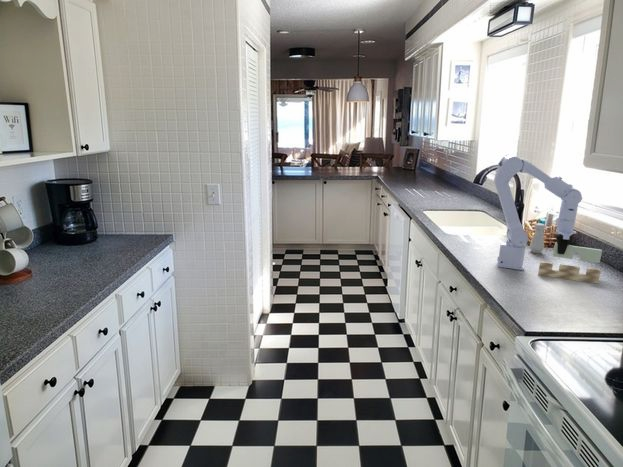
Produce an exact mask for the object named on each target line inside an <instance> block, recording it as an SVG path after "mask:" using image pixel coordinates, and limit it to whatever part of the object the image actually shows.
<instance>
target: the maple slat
mask: <svg viewBox="0 0 623 467" xmlns="http://www.w3.org/2000/svg"><path fill="white" fill-rule="evenodd" d="M553 266H554V264H553V262H547V261H539V267H538V271H537V272H538V273H537V275H538V276H543V277H544V276H545V277H550V278H558V279H565V280H571V281H577V282H585V283H591V284H599V281H600V277H601V271H602V270H601V269H599V268H598V269H597V268H589V267H586V271H585V273H580V270H581V267H580V266H576V265H569V264H563V263H562V264H559V266H558V269H553V268H554V267H553Z"/></svg>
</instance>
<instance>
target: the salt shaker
mask: <svg viewBox="0 0 623 467" xmlns="http://www.w3.org/2000/svg"><path fill="white" fill-rule="evenodd" d="M534 229H535V231H534V233H533V235H532V238H531V241H530V244H529V246H528V247H529V250H530V253H532V254H538V255H540V254H541V253H542V251H544V248H545V242H544V239H545V238H544V233H545V232H544V231H545V229H546V224H544V223H540V222H539V223H535V224H534Z"/></svg>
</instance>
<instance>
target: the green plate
mask: <svg viewBox="0 0 623 467" xmlns="http://www.w3.org/2000/svg"><path fill="white" fill-rule="evenodd" d="M553 246H554V247H553V251H552V252H553V253H552V257H555V258H563V259H568V260H569V259H570V260H572V259H573V258H574V254H579V257H578V260H579V261H583V262H589V263H590V262H591V263H597V264H600V262H601V260H602V258H601V257H602V254H603V249H598V248H593V247H592V248H591V247H584V246H577V245H571V244H569V245H568V246H567V249H566V251H565V253H564V255H563V254H558V244H557V242H555V243H554V245H553Z"/></svg>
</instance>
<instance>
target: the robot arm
mask: <svg viewBox="0 0 623 467" xmlns="http://www.w3.org/2000/svg"><path fill="white" fill-rule="evenodd" d="M518 173H522V174H528V175H530V176H532V177H534V178H535V179H537V180H538V181H540V182H542V184H544V189H546V190H547V191H549V193H551V194H553V195H555V196H556V197H558V198H559V199H560V200H561V204H560V207H559V213H558V214H559V215H558V220H557V223H556V224H557V225H556V229H555V232H556V233H555V234H554V235H555V238H556V243H557V244H558V254H563V255H564V253H565V251H566V249H567V246H568V245H570V243H571V242H572V241H573V238H572V235H573V234H574V235H576V234H577V231H576V230H574V229H575V224H576V219H577V213H578V208H579V203H581V202H582V200H583V195H582V193H581V191H580V190H579V189H576V188H574V186H573V184H571V183H567V182H566V181H564V180H562V179H563V177H561V176H559V175H558V176H557V175H551V176H550V175H548V174H547V173H545V172H544V171H543V170H542V169H540V168H538V167H537V166H536V165H534V164H532V163H531V162H529V161H527V160H524V159H522V158H521V157H519V156H515V155H514V154H506V155H504V156H503V157H502V158H501V160H500V161H499V162H498V163H497V168H496V172H495V176H494V178H493V182H494V183H493V184H494V186H495V190H496V191H497V192H496V193H497V196H498V199H499V202H500V206H501V209H502V213H503V216H504V218H505V222H506V237H507V240H506V242H504V243H503V242H502V243H500V247H499V253H498V256H497V259H496V260H497V268H498V267H499V268H505V269H506V268H507V269H512V270H513V269H514V270H519V271H520V270H521V271H524V270H525V267H524V259H525V253H526V246H527V243H528V241H529V236H528V234H527V232H525V230H524V228H523V226H522V223H521V221H520V218H519V213H518V210H517V207H516V204H515V201H514V196H513V194H512V190H511V186H510V184H509V183H510V181H511V180H512V178H513V177H514V176H515V175H517V174H518Z"/></svg>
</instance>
